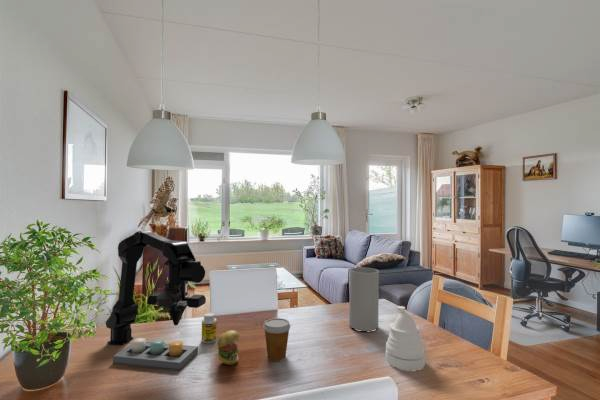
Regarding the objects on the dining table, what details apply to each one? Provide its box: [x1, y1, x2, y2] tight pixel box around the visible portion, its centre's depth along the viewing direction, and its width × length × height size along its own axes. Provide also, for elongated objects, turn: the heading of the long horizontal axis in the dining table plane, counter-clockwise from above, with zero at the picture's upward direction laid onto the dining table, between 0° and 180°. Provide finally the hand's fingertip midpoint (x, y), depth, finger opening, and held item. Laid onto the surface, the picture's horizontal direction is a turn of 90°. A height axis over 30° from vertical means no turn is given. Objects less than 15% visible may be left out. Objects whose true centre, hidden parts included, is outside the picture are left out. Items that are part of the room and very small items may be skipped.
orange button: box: [168, 340, 184, 356], centre depth 109 cm, size 4×4×3 cm
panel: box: [112, 341, 199, 372], centre depth 110 cm, size 24×12×3 cm, turn 81°
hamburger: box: [216, 326, 240, 366], centre depth 108 cm, size 8×7×12 cm
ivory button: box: [131, 337, 147, 353], centre depth 111 cm, size 4×4×3 cm
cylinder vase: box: [348, 266, 380, 331], centre depth 141 cm, size 12×12×25 cm
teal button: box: [149, 339, 165, 355], centre depth 110 cm, size 4×4×3 cm
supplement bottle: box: [201, 312, 218, 344], centre depth 125 cm, size 6×6×10 cm
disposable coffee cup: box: [262, 317, 292, 362], centre depth 112 cm, size 10×10×12 cm
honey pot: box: [385, 305, 426, 371], centre depth 110 cm, size 13×13×18 cm
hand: (176, 325), depth 109 cm, fingers closed
